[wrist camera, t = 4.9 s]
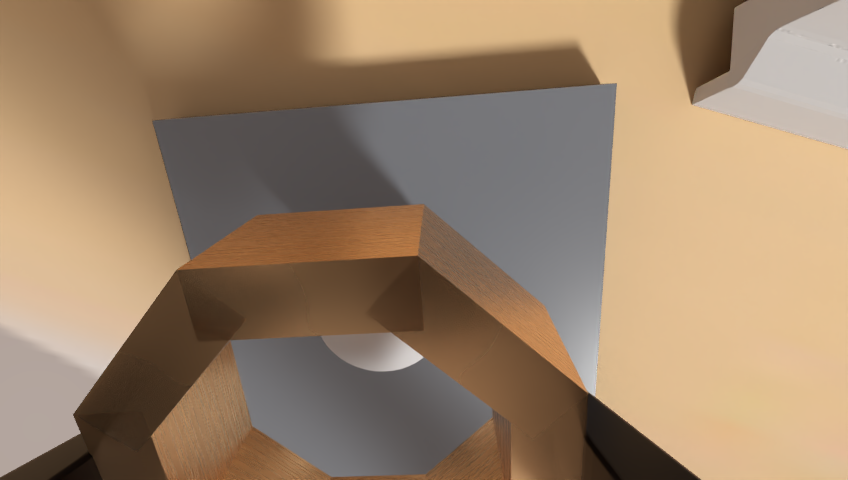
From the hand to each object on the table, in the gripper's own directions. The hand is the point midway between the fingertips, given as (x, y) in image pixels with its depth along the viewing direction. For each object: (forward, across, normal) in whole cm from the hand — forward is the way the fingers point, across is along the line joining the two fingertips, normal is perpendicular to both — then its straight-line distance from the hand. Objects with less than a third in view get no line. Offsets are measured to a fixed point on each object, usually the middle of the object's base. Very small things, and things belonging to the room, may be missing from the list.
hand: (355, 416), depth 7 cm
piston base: (+8, 0, +7) cm, 11 cm away
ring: (+1, 0, 0) cm, 1 cm away
